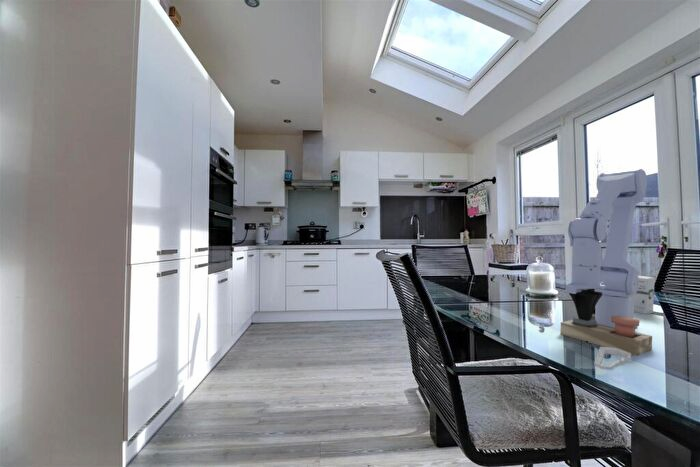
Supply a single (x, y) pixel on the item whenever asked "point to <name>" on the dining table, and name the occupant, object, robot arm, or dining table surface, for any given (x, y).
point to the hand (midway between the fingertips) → (584, 319)
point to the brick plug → (625, 325)
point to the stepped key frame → (616, 352)
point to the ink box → (644, 295)
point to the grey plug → (584, 322)
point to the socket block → (607, 337)
